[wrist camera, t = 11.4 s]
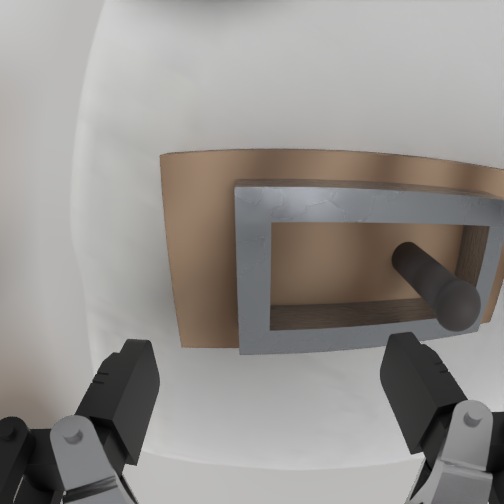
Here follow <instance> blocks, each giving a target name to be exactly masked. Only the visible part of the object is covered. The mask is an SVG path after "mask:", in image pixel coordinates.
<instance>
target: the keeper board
mask: <svg viewBox="0 0 504 504" xmlns="http://www.w3.org/2000/svg"><path fill="white" fill-rule="evenodd" d="M160 167H161V182H162V195H163V207H164V218H165V228H166V238H167V247H168V256H169V264H170V272H171V280H172V287H173V295H174V302H175V308H176V315H177V321H178V328H179V334H180V340H181V346H182V347H189V348H239V323H238V295H237V263H236V228H235V183H236V179H324V180H353V181H373V182H390V183H404V184H417V185H429V186H440V187H450V188H460V189H468V190H477V191H485V192H488V193H491V194H493V195H496V196H499V197H501V198H504V170H503V169H498V168H492V167H487V166H481V165H475V164H469V163H463V162H456V161H449V160H442V159H434V158H426V157H417V156H408V155H398V154H387V153H374V152H360V151H343V150H319V149H231V150H207V151H189V152H175V153H167V154H163V155H160ZM463 229H464V225H451V224H416V223H358V222H271V286H270V306H274V305H307V304H332V303H351V302H369V301H384V300H398V299H411V298H423V299H424V301H425V302H426V303H427V304H428V305H429V306H430V307H431V308H432V309H433V311H434V313H435V316H436V319H437V321H438V322H439V324H440V325H441V326H442V327H443V328H445V329H446V330H449V331H452V332H460V331H464V330H466V329H468V328H469V327H471V326H472V325H473V324H474V323H475V321H476V320H477V318H478V316H479V314H480V310H481V299H480V295H479V293H478V291H477V289H476V288H475V287H474V286H473V285H472V284H471V283H469V282H467V281H464V280H460V279H458V278H457V277H456V276H455V275H454V274H455V269H456V265H457V260H458V255H459V251H460V245H461V240H462V235H463ZM503 279H504V241H503V246H502V250H501V255H500V259H499V263H498V267H497V271H496V275H495V278H494V282H493V286H492V289H491V292H490V296H489V299H488V302H487V305H486V308H485V311H484V314H483V317H482V320H481V323H480V324H482V323H487V322H490V320H491V317H492V314H493V311H494V308H495V305H496V302H497V299H498V296H499V292H500V289H501V286H502V282H503Z"/></svg>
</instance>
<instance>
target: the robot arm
mask: <svg viewBox="0 0 504 504" xmlns="http://www.w3.org/2000/svg"><path fill="white" fill-rule="evenodd" d="M380 380H381V384H382V387H383V389H384V391H385V393H386V396H387V398H388V400H389V403H390V405H391V407H392V410H393V412H394V414H395V417H396V419H397V421H398V424H399V426H400V429H401V431H402V434H403V436H404V438H405V441H406V443H407V446H408V448H409V451H410V454H411V455H412V454H416V453H420V452H423V453H424V455H425V458H424V459H423V461H422V463H421V466H420V469H419V471H418V474H417V476H416V479H415V481H414V484H413V486H412V488H411V491H410V493H409V495H408V497H407V499H406V502H405V504H487V503H488V502H489V504H504V412H491V411H490V409H489V408H488V407H487V406H486V405H484V404H483V403H481V402H479V401H475V400H468V399H467V398H466V396H465V395H464V393H463V391H462V390H461V388H460V387H459V385H458V384H457V382H456V381H455V379H454V378H453V376H452V375H451V373H450V372H448V369H447V367H446V366H445V365H444V364H443V363H442V360H441V359H440V357H439V356H438V354H437V353H436V352H435V351H434V350H432V349H431V348H430V347H428V346H427V345H425V344H422V345H421V344H420V342H419V341H418V339H417V338H416V336H415V335H414V334H413V333H412V332H404V333H396V334H391V335H390V336H389V338H388V342H387V346H386V350H385V353H384V357H383V361H382V365H381V368H380ZM159 386H160V378H159V372H158V368H157V364H156V360H155V356H154V352H153V348H152V344H151V342H150V341H149V340H137V339H127V340H126V342H125V344H124V345H123V347H122V349H121V351H120V353H115V352H114V353H112V354H111V355H110V356H109V357H108V358H106V359H105V360H104V361H103V362H102V364H101V366H100V368H99V369H98V371H97V374H96V375H95V377H94V379H93V383H91V384H90V386H89V388H88V390H87V392H86V394H85V395H84V397H83V399H82V401H81V403H80V405H79V407H78V409H77V411H76V413H75V414H74V415H71V416H66V417H64V418H62V419H60V420H59V421H57V422H56V423H55V424H54V426H53V427H52V429H29V428H28V427H27V425H26V424H25V422H24V421H23V420H21V419H20V418H18V417H7V418H4V419H2V420H0V504H13V499H14V495H15V493H16V490H17V488H18V485H19V483H20V480H21V478H22V477H23V480H22V483H21V485H20V488H19V491H18V493H17V496H16V498H15V501H14V504H60V502H61V499H62V501H63V504H139V502H138V500H137V499H136V497H135V496H134V494H133V492H132V490H131V488H130V486H129V484H128V483H127V481H126V479H125V477H124V475H123V473H122V471H123V468H124V465H125V464H130V465H136V466H137V462H138V459H139V455H140V452H141V448H142V445H143V441H144V438H145V435H146V431H147V428H148V424H149V421H150V418H151V414H152V411H153V408H154V405H155V401H156V398H157V395H158V392H159ZM64 491H66V495H63V492H64Z"/></svg>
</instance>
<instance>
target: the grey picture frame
mask: <svg viewBox="0 0 504 504" xmlns="http://www.w3.org/2000/svg"><path fill="white" fill-rule="evenodd" d="M271 222H358V223H416V224H451V225H464V229H463V235H462V240H461V245H460V251H459V255H458V260H457V265H456V269H455V274H454V275H455V276H456V277H457V278H458V279H460V280H464V281H467V282H469V283H471V284H472V285H473V286H474V287H475V288H476V289H477V291H478V293H479V295H480V299H481V310H480V314H479V316H478V318H477V320H476V321H475V323H474V324H473V325H472V326H471V327H469V328H468V329H466V330H464V331H460V332H452V331H449V330H446V329H445V328H443V327H442V326H441V325H440V324H439V322H438V321H437V319H436V316H435V313H434V311H433V309H432V308H431V307H430V306H429V305H428V304H427V303H426V302H425V301H424V299H423V298H411V299H398V300H384V301H369V302H351V303H332V304H307V305H274V306H270V286H271ZM235 228H236V263H237V295H238V323H239V349H240V355H254V354H288V353H308V352H324V351H338V350H350V349H361V348H371V347H380V346H387V342H388V338H389V336H390V335H391V334H396V333H404V332H412V333H413V334H414V335H415V336H416V338H417V339H418V341H425V340H432V339H438V338H444V337H450V336H456V335H461V334H467V333H472V332H477V331H478V329H479V326H480V323H481V320H482V317H483V314H484V311H485V308H486V305H487V302H488V299H489V296H490V292H491V289H492V286H493V282H494V278H495V275H496V271H497V267H498V263H499V259H500V255H501V250H502V246H503V241H504V198H501V197H499V196H496V195H493V194H491V193H488V192H485V191H477V190H468V189H460V188H450V187H440V186H429V185H417V184H404V183H390V182H373V181H353V180H324V179H236V183H235Z"/></svg>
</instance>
